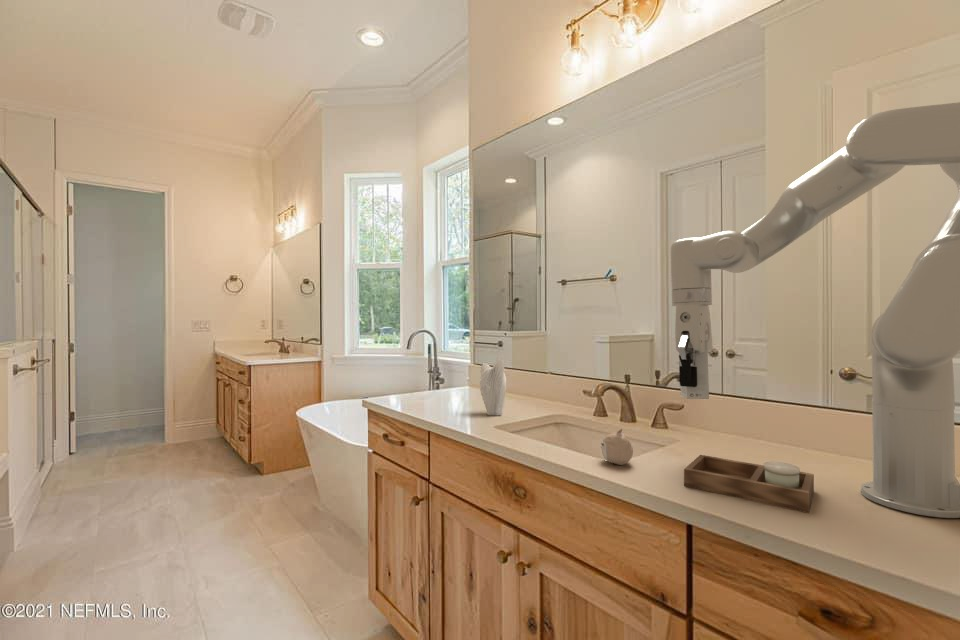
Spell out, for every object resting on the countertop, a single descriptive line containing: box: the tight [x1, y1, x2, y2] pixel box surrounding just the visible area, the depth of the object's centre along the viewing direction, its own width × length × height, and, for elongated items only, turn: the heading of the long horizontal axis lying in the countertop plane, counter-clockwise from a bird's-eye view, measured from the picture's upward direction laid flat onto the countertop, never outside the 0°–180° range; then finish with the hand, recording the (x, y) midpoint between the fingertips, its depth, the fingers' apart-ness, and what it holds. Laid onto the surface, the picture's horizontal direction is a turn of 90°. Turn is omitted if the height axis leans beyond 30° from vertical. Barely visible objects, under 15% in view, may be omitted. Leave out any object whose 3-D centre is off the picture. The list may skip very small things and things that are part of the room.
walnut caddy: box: [683, 454, 815, 513], centre depth 79 cm, size 18×11×3 cm, turn 50°
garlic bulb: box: [600, 428, 634, 466], centre depth 94 cm, size 7×6×8 cm
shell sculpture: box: [479, 358, 507, 417], centre depth 142 cm, size 8×8×18 cm
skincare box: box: [679, 340, 710, 400], centre depth 93 cm, size 6×4×12 cm
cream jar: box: [763, 461, 801, 489], centre depth 76 cm, size 5×5×4 cm
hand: (693, 383), depth 93 cm, fingers closed on skincare box, 7 cm apart
